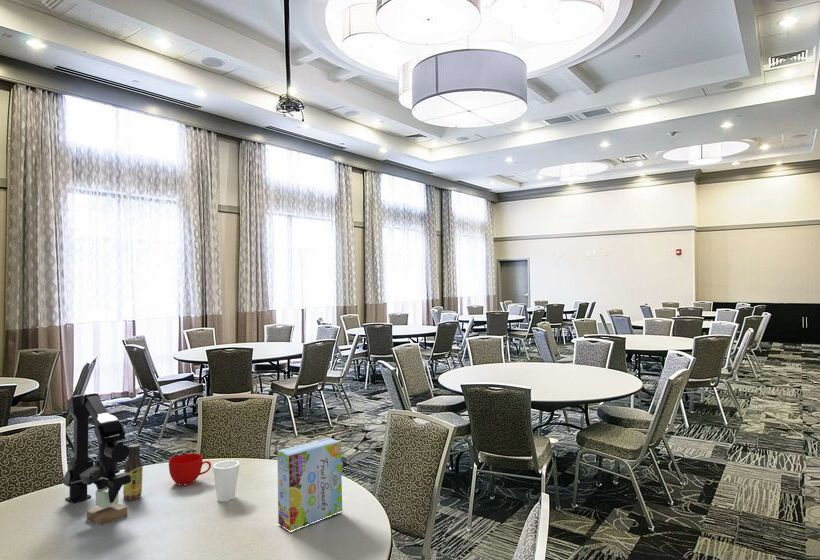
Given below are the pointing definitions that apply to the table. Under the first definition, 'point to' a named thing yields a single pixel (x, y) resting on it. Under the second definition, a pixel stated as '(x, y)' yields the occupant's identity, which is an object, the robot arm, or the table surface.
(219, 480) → the foam cup
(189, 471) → the ceramic cup
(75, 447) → the robot arm
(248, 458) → the table surface
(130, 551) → the table surface
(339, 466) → the snack box
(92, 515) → the walnut block
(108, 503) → the sage cube
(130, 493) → the sauce bottle
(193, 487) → the table surface
